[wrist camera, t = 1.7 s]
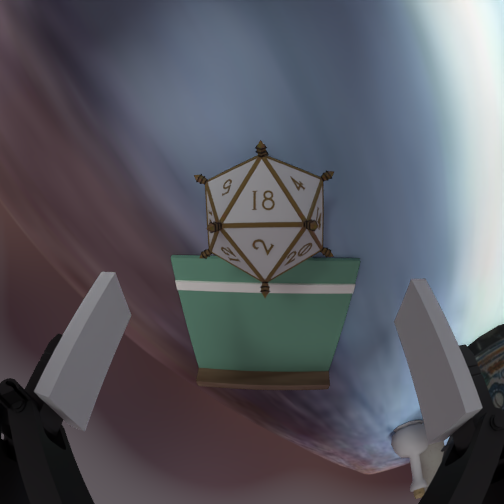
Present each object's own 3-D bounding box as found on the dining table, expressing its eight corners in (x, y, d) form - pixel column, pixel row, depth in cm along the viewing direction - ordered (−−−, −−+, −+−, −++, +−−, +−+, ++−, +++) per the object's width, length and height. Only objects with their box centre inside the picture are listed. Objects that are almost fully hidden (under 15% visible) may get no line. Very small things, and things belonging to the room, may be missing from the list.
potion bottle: (394, 436, 53) (403, 503, 38) (386, 428, 49) (395, 504, 34) (429, 422, 49) (442, 490, 35) (424, 413, 45) (439, 490, 31)
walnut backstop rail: (199, 365, 35) (196, 380, 33) (328, 368, 34) (329, 384, 32) (200, 370, 36) (197, 385, 34) (326, 373, 35) (328, 389, 33)
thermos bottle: (446, 429, 54) (461, 517, 32) (425, 441, 59) (436, 525, 36) (430, 430, 53) (444, 525, 30) (408, 442, 57) (418, 532, 34)
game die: (280, 152, 23) (377, 143, 15) (282, 254, 25) (373, 290, 17) (169, 154, 19) (224, 129, 11) (178, 273, 21) (235, 334, 13)
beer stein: (530, 337, 32) (574, 452, 11) (450, 397, 42) (474, 509, 21) (514, 303, 27) (578, 460, 7) (412, 382, 37) (438, 531, 16)
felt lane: (171, 255, 25) (170, 259, 25) (359, 258, 24) (361, 262, 24) (199, 365, 35) (198, 368, 34) (328, 368, 34) (328, 372, 34)
